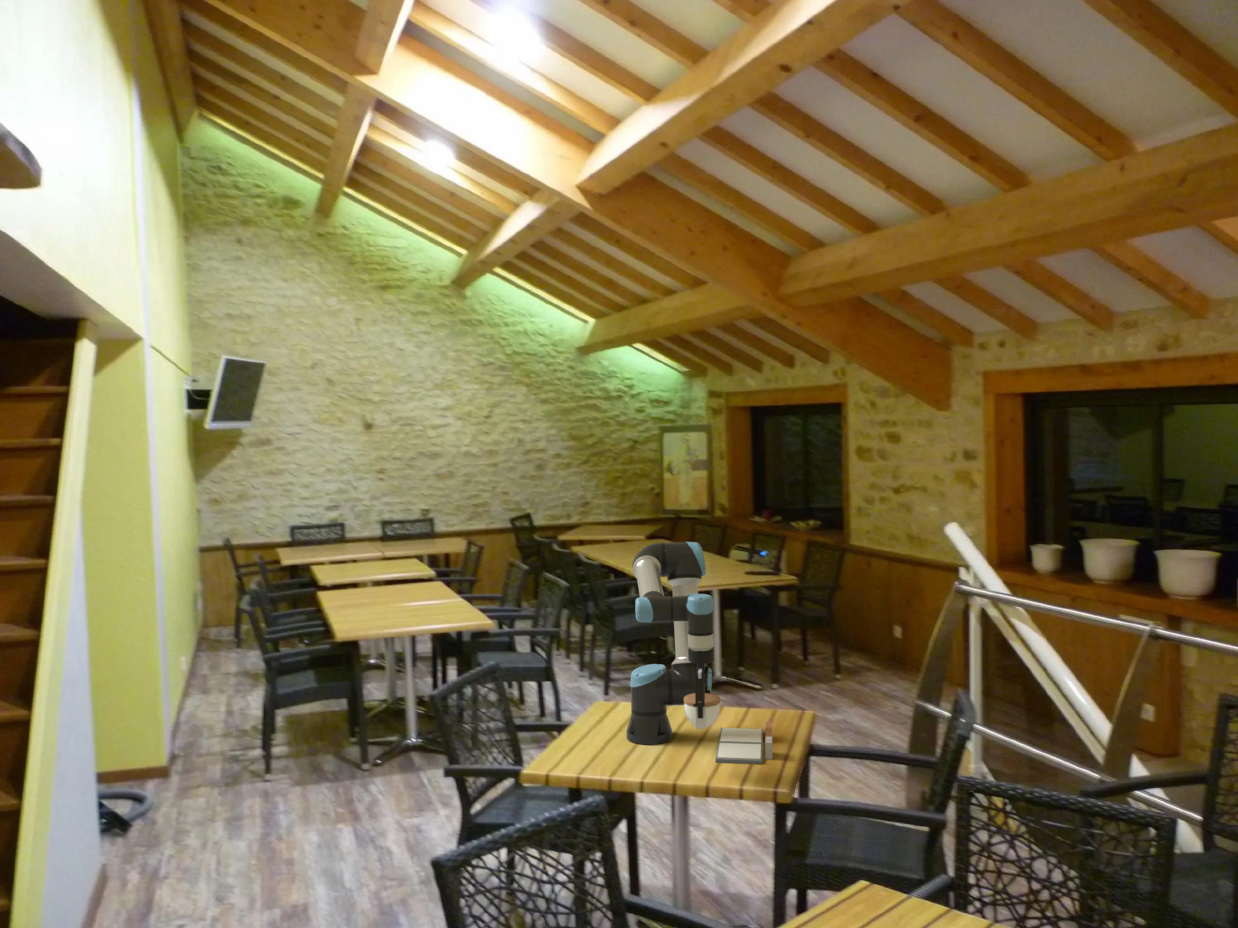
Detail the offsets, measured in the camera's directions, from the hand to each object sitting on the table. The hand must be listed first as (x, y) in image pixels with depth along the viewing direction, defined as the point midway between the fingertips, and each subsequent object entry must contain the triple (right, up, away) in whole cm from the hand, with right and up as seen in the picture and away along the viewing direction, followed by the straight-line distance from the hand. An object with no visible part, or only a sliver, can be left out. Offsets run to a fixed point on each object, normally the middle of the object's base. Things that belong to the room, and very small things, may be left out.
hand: (702, 722), depth 279 cm
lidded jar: (0, -1, 0) cm, 1 cm away
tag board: (+16, -14, +23) cm, 31 cm away
